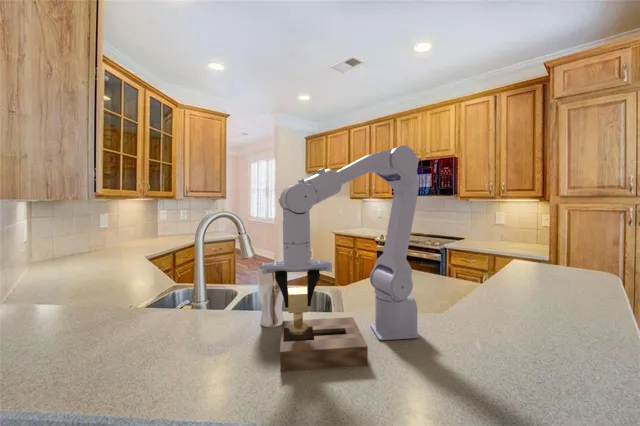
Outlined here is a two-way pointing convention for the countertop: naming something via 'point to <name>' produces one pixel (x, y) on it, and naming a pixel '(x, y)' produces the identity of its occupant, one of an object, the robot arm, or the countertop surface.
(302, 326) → the brass peg
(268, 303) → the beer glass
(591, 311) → the countertop surface
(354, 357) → the keyhole board
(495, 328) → the countertop surface
